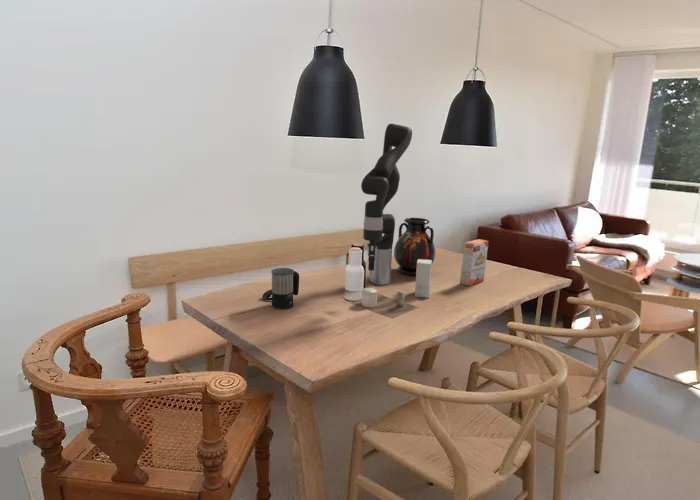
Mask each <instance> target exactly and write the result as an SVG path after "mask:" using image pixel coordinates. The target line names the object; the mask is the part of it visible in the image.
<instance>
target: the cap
mask: <svg viewBox="0 0 700 500" xmlns="http://www.w3.org/2000/svg"><path fill="white" fill-rule="evenodd" d="M377 294H378V290H377V289H376V288H373V287H372V288H371V287H365V288H362V290H361V299H362V300H361V299H360V300H361V304H362V305H363V306H366V307H374V306H376V302H377Z"/></svg>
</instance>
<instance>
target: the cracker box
mask: <svg viewBox="0 0 700 500" xmlns="http://www.w3.org/2000/svg"><path fill="white" fill-rule="evenodd" d="M463 243H464V245H463V250H462V251H463V252H462V262H461V270H460V271H461V272H460V280H459V284H462V285H465V286H467V287H471V286H474V285H476V284H479V283H482V282H484V281H485V280H484V279H485V272H486V264H487V258H488V250H489V240H487V239H480V238H478V239H474V240H469V241H466V242H463Z"/></svg>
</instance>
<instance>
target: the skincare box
mask: <svg viewBox="0 0 700 500" xmlns="http://www.w3.org/2000/svg"><path fill="white" fill-rule="evenodd" d="M431 263H432V260H422V259H418V261H417V268H416V276H415V287H414V291H415V293H414V297H416V298H426V299H429V298H430V291H431V279H432V277H431V275H432V264H433V263H432V264H431Z"/></svg>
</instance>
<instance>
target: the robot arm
mask: <svg viewBox="0 0 700 500" xmlns="http://www.w3.org/2000/svg"><path fill="white" fill-rule="evenodd" d="M383 138H384V139H383V147H382V155H381V156H380V157H379V158H378V160H377V162H376V163H375V165H374V167H373V168H372V169H371V170H370V171H369V172H368V173H367V174H366V175H365V176H364V178H363V179H362V181H361V184H360V186H361V187H360V188H361V191H362V193H364V194H366V195H371V196H376V197H375V199H374V200H369V201H366V202H365V206H364V207H365V208H364V219H363V230H362V231H363V236H362V237H363V240H364V241H368V242H367V244H366V245H367V246H366V249H367V256H368V259H367V261H368V267H367V269H368V271H369V282H371V284H374V285H377V286H378V285H379V286H381V285H382V286H385V285H389V284H390V283H391V276H392V275H391V273H392V258H393V257H392V256H393V244H394V238H395V237H394V236H395V229H396V220H395V216H394V215H393V214H391V213H384V209H385V208H386V206H387V205H388V204H389V203H390V201H391V200H392V199H393V198H394V196H395V195H396V194H397V192H398V189H399V185H400V179H401V175H400V172H399V169H398V166H397V164H398V162H399V160H400V159H401V157H402V156H403V154H404V153H406V151H407V149H408V148H409V146H410V143H411V142H412V138H413V130H412V128H411V127H408V126H406V125H400V124H395V123H388V124H387V126H386V128H385V132H384V137H383Z"/></svg>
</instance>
